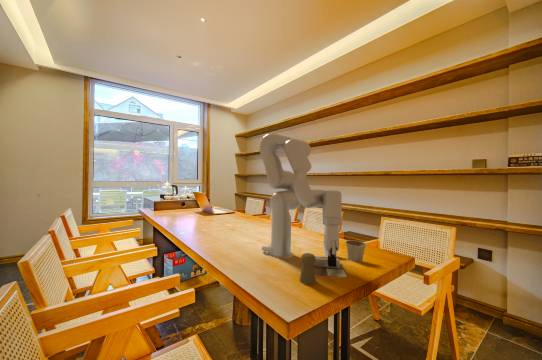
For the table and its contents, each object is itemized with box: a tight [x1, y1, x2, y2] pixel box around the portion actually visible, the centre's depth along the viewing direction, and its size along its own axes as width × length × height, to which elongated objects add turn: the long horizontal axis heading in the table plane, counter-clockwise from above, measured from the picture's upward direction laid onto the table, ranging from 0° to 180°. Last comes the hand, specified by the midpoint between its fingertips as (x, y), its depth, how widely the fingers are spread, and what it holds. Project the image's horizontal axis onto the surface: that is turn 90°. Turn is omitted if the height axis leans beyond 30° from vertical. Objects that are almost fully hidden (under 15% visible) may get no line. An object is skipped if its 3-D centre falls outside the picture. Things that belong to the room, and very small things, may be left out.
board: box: [314, 255, 349, 278], centre depth 97 cm, size 17×14×4 cm
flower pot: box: [344, 239, 367, 263], centre depth 110 cm, size 9×9×9 cm
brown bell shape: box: [299, 252, 317, 286], centre depth 85 cm, size 6×6×11 cm
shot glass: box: [322, 241, 338, 257], centre depth 115 cm, size 7×7×7 cm
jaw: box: [314, 257, 341, 269], centre depth 99 cm, size 15×3×4 cm, turn 81°
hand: (332, 265), depth 95 cm, fingers closed
